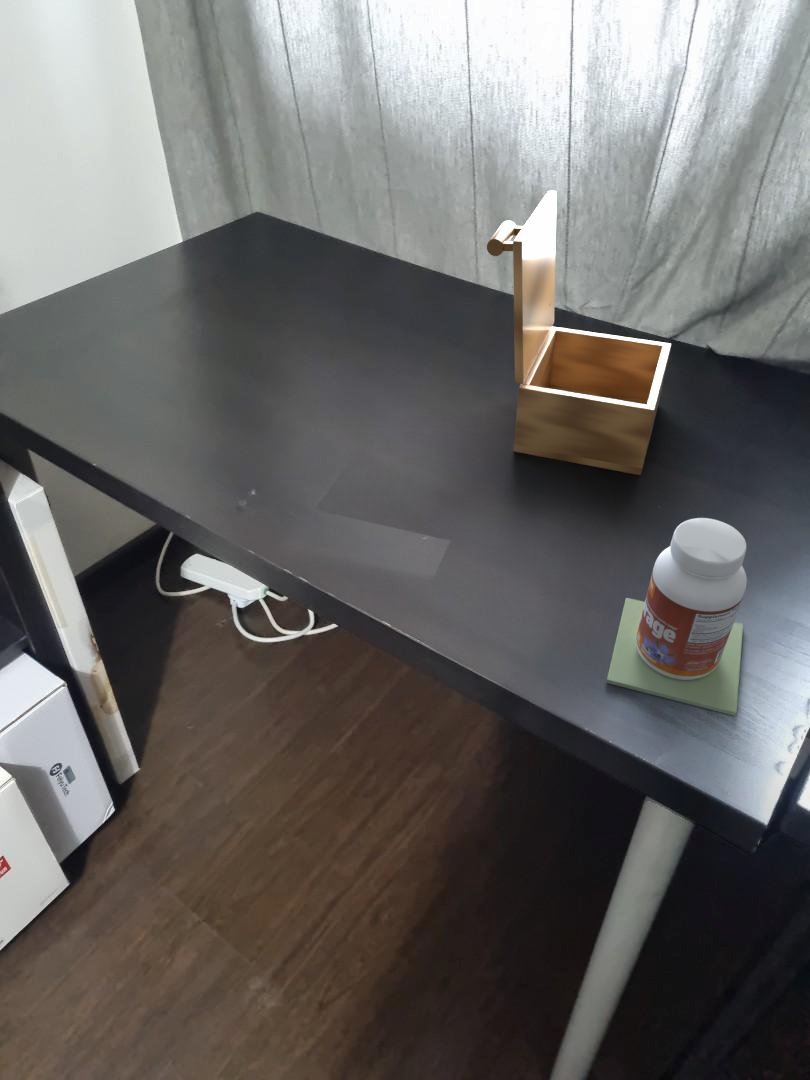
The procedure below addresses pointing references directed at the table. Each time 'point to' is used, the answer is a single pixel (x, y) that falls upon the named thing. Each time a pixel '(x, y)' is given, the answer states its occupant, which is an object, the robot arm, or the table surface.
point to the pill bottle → (693, 599)
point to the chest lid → (531, 279)
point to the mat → (702, 692)
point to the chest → (591, 399)
